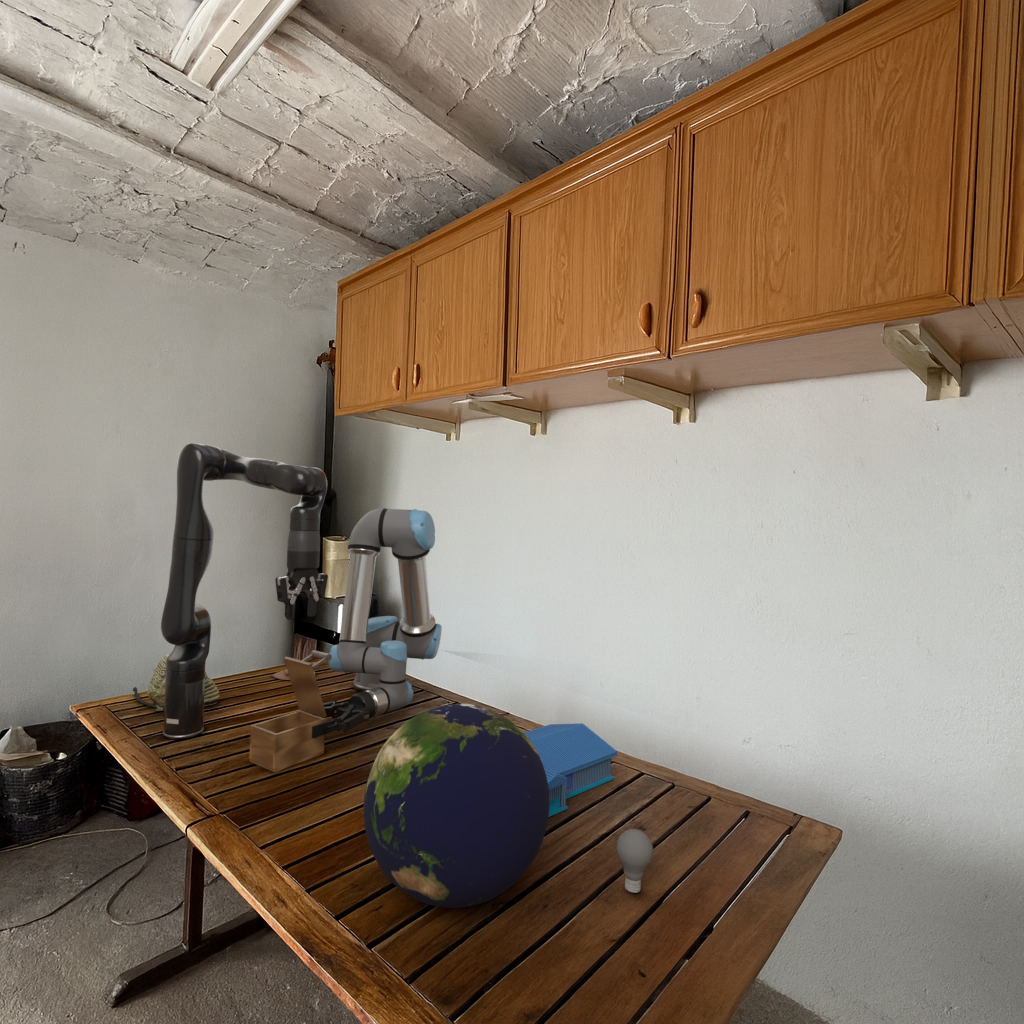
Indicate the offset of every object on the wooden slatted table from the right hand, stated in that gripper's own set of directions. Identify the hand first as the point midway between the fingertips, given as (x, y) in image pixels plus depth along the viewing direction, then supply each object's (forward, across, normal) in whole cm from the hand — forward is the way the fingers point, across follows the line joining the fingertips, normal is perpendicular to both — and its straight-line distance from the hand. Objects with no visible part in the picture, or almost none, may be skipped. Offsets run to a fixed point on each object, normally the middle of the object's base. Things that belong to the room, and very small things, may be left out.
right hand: (299, 727), depth 155 cm
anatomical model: (-41, +55, -6) cm, 69 cm away
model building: (-20, -54, -6) cm, 58 cm away
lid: (-1, 0, +10) cm, 10 cm away
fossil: (-1, +53, -6) cm, 53 cm away
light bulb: (+1, -88, -6) cm, 88 cm away
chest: (+3, 0, -6) cm, 7 cm away
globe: (+19, -64, -6) cm, 68 cm away
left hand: (+1, 0, +27) cm, 27 cm away
